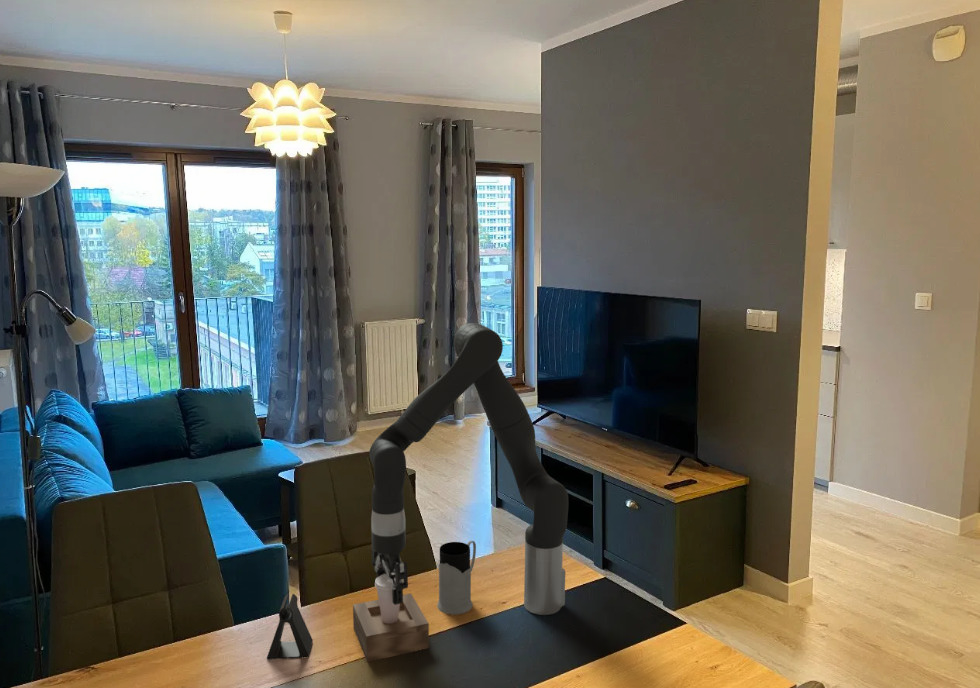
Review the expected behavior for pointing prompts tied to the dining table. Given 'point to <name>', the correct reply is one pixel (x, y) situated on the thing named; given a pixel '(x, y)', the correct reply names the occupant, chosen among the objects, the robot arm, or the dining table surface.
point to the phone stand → (299, 631)
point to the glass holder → (455, 577)
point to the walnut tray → (390, 629)
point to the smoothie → (386, 599)
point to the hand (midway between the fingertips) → (389, 594)
